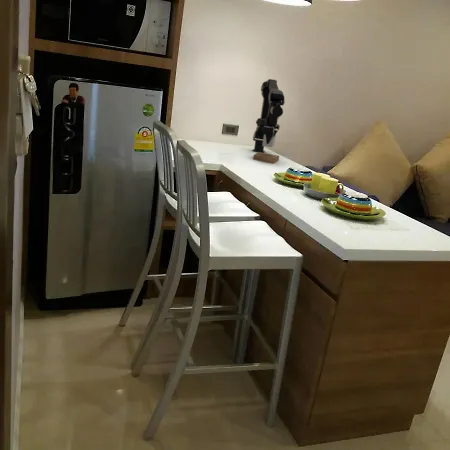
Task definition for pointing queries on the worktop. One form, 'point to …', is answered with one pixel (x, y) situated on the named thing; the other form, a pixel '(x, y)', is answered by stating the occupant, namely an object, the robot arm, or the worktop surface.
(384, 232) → the worktop surface
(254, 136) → the robot arm
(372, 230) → the worktop surface
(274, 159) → the walnut box
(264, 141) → the block
